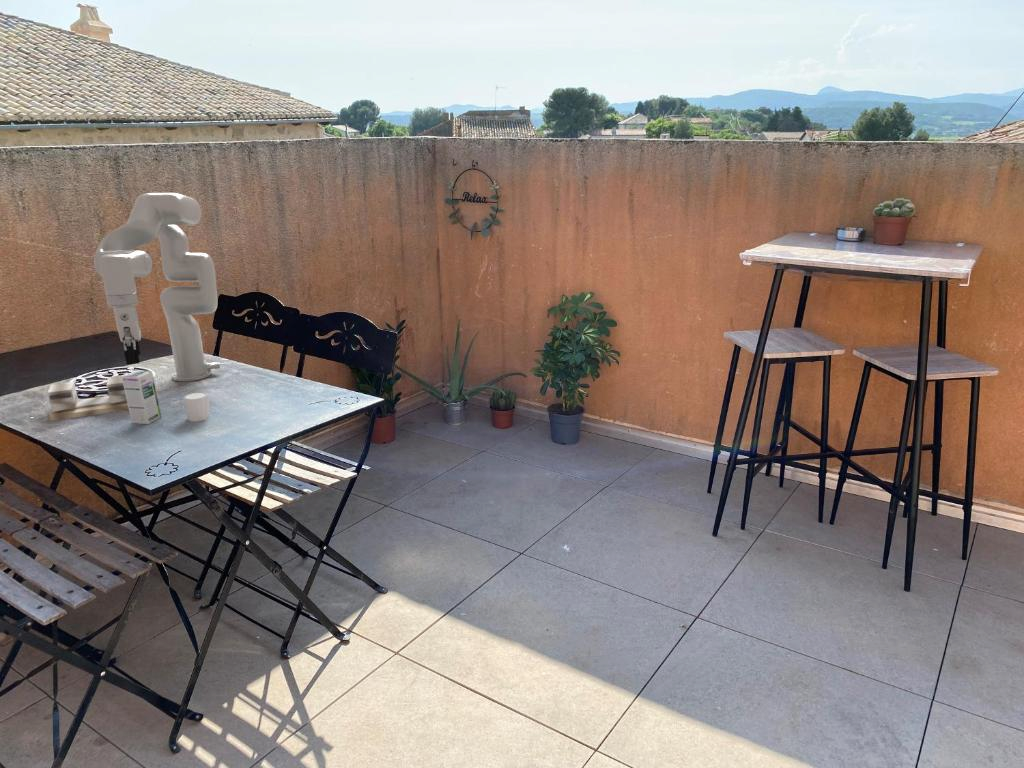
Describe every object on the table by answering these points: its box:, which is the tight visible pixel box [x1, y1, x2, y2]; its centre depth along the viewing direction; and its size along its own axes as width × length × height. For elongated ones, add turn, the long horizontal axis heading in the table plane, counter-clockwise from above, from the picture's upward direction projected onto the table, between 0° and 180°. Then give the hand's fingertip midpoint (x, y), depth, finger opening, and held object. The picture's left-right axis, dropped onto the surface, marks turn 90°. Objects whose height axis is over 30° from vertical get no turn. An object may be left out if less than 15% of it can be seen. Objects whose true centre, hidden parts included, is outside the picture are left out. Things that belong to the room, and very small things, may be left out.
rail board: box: [47, 374, 129, 422], centre depth 207 cm, size 22×12×8 cm, turn 116°
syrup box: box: [121, 369, 162, 425], centre depth 197 cm, size 6×6×14 cm
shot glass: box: [182, 391, 211, 422], centre depth 199 cm, size 7×7×7 cm
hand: (133, 359), depth 192 cm, fingers open, 9 cm apart
